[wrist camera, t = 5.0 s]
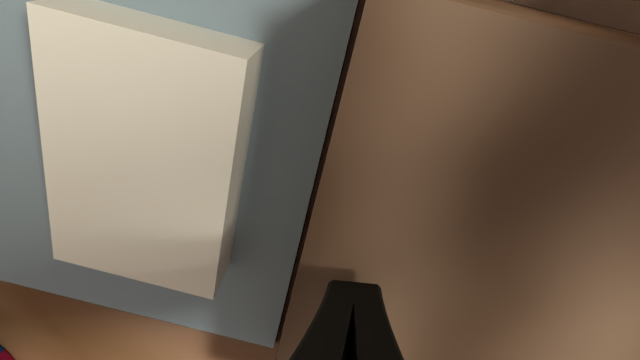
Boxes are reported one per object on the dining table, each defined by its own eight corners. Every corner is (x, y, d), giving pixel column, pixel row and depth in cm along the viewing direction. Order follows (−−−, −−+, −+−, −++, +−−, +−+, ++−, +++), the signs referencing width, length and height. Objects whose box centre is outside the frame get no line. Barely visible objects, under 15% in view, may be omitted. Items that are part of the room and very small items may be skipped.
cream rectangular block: (26, 1, 12) (72, -7, 13) (53, 258, 16) (85, 227, 18) (247, 60, 12) (264, 43, 13) (213, 300, 16) (229, 264, 18)
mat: (366, -34, 12) (366, -33, 12) (274, 343, 20) (273, 348, 20) (-122, -157, 12) (-133, -159, 12) (-21, 269, 20) (-26, 273, 20)
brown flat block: (755, 64, 12) (904, 115, 9) (510, 402, 20) (537, 498, 17) (373, -32, 12) (370, -20, 9) (278, 344, 20) (257, 429, 17)
